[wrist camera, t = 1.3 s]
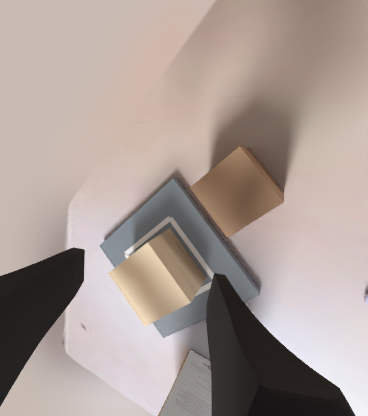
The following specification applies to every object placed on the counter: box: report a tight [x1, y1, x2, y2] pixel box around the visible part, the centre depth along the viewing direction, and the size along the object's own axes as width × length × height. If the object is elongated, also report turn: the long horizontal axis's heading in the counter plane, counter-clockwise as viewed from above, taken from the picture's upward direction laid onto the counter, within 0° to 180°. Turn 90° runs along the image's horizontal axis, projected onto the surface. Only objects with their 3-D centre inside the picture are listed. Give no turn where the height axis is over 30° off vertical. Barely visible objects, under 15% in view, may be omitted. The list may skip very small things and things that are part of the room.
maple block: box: [108, 228, 206, 326], centre depth 21 cm, size 6×6×4 cm
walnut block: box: [190, 146, 284, 238], centre depth 17 cm, size 4×4×4 cm
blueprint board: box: [100, 178, 260, 338], centre depth 23 cm, size 13×13×1 cm
